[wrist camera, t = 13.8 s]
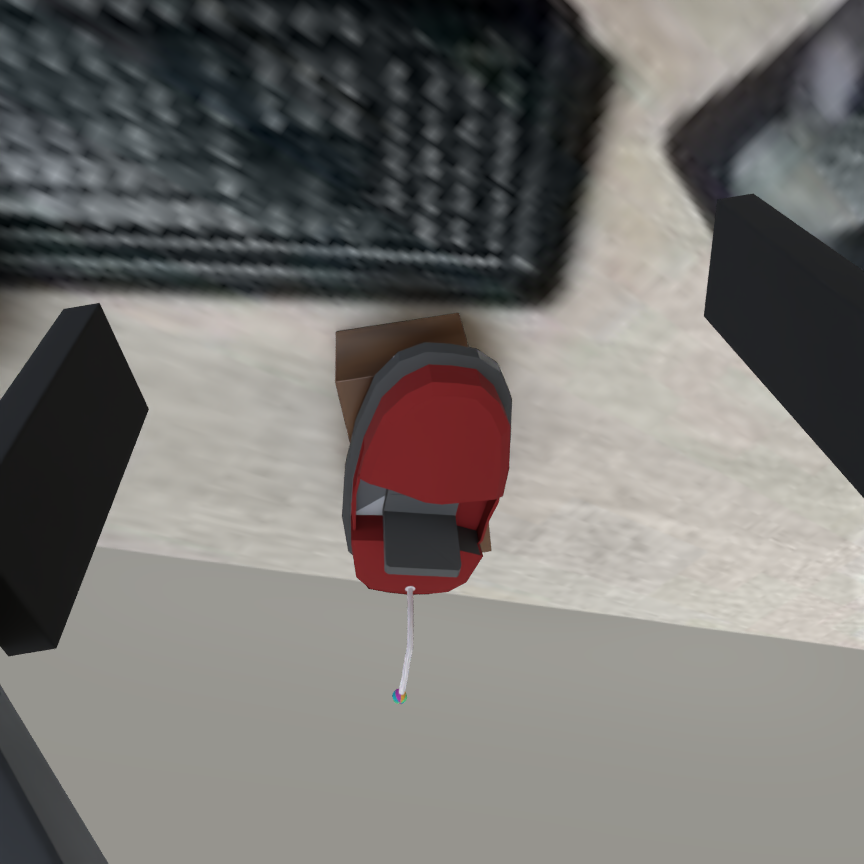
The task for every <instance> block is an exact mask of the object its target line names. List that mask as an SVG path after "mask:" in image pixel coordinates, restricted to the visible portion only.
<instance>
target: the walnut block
mask: <svg viewBox="0 0 864 864" xmlns="http://www.w3.org/2000/svg"><path fill="white" fill-rule="evenodd" d="M424 342H430V343H446V344H455V345H460V346H465V347H469V346H468V343H467V339H466V336H465V332H464V329H463V325H462V322H461V318H460V315H459V313H453V314H447V315H441V316H434V317H428V318H421V319H415V320H409V321H402V322H396V323H389V324H383V325H376V326H370V327H364V328H357V329H351V330H344V331H338V332H336V362H335V383H336V388H337V392H338V396H339V400H340V404H341V408H342V412H343V416H344V421H345V425H346V429H347V433H348V437H349V441H350V442H351V437H352V433H353V429H354V425H355V420H356V417H357V415H358V413H359V410H360V408H361V406H362V403H363V401H364V399H365V396H366V394H367V392H368V390H369V387H370V385H371V383H372V380H373V378H374V376H375V375H376V374H377V372H378V371H379V370H380V369H381V368H382V367H383V366H384V365H385V364H386V363H387V362H388V361H389V360H390V359H391V358H392V357H393V356H394V355H395V354H396V353H397V352H399V351H402V350H404V349H407V348H410V347H413V346H415V345H418V344H421V343H424ZM480 545H481V550H482V552H489V551H491V541H490V531H489V523H488V526H487V529H486V533H485V536H484V539H483V541H482V542H481V543H480Z"/></svg>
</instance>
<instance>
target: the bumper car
mask: <svg viewBox="0 0 864 864" xmlns="http://www.w3.org/2000/svg"><path fill="white" fill-rule="evenodd" d="M511 410H512V398H511V395H510V392H509V389H508V387H507V384H506V382H505V379H504V377H503V375H502V372H501V370H500V367H499V365H498V363H497V362H496V361H494V360H493V359H491V358H490V357H488V356H487V355H485V354H484V353H482V352H481V351H479V350H478V349H476V348H471V347H465V346H460V345H455V344H446V343H430V342H424V343H421V344H418V345H415V346H413V347H410V348H407V349H404V350H402V351H399V352H397V353H396V354H395V355H394V356H393V357H392V358H391V359H390V360H389V361H388V362H387V363H386V364H385V365H384V366H383V367H382V368H381V369H380V370H379V371H378V372H377V374H376V375H375V376H374V378H373V380H372V383H371V385H370V387H369V390H368V392H367V394H366V396H365V399H364V401H363V403H362V406H361V408H360V410H359V413H358V415H357V417H356V420H355V425H354V429H353V433H352V437H351V442H350V446H349V450H348V454H347V459H346V463H345V477H344V493H343V509H342V518H343V524H344V530H345V535H346V541H347V546H348V551H349V552H350V553H351V554H352V555H353V559H354V565H355V572H356V577H357V578H358V579H359V580H360V581H362V582H363V583H364V584H365V585H366V586H367V587H368V589H373V590H378V591H383V592H390V593H398V594H407V602H408V630H407V633H408V634H407V650H406V655H405V659H404V666H403V672H402V679H401V683H400V687H399V689H396V690H395V691H394V693H393V695H392V697H393V700H394V702H395V703H397V704H402V703H404V702H405V701H406V699H407V695H406V692H405V688H406V684H407V679H408V673H409V667H410V660H411V656H412V651H413V632H414V629H413V627H414V623H413V621H414V619H413V617H414V615H413V595H415V594H432V593H442V592H449V591H451V590H452V589H454V588H456V587H458V586H460V585H462V584H464V583H466V582H467V580H468V579H469V577H470V576H471V574H472V572H473V571H474V569H475V568H476V566H477V565H478V563H479V562H480V560H481V559H482V557H483V554H482V550H481V545H480V543H481V542H482V541H483V539H484V536H485V533H486V529H487V526H488V523H489V520H490V518H491V516H492V514H493V512H494V510H495V509H496V507H497V505H498V503H499V498H500V497H502V496H503V493H504V489H505V484H506V480H507V476H508V471H509V457H510V438H511Z"/></svg>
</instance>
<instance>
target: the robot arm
mask: <svg viewBox="0 0 864 864" xmlns="http://www.w3.org/2000/svg"><path fill="white" fill-rule="evenodd" d="M704 317H705V318H706V319H707V320H708V321H709V323H710V324H711V325H712V326H713V327H714V328H715V329H716V330H717V332H718V333H719V334H720V335H721V336H722V337H723V338H724V340H725V341H726V342H727V343H728V344H729V345H730V346H731V348H732V349H733V350H734V351H735V352H736V353H737V354H738V356H739V357H740V358H741V359H742V360H743V361H744V362H745V363H746V365H747V366H748V367H749V368H750V369H751V370H752V371H753V373H754V374H755V375H756V376H757V377H758V378H759V379H760V381H761V382H762V383H763V384H764V385H765V386H766V387H767V388H768V390H769V391H770V392H771V393H772V394H773V395H774V396H775V398H776V399H777V400H778V401H779V402H780V403H781V404H782V406H783V407H784V408H785V409H786V410H787V411H788V412H789V414H790V415H791V416H792V417H793V418H794V419H795V420H796V421H797V423H798V424H799V425H800V426H801V427H802V428H803V429H804V431H805V432H806V433H807V434H808V435H809V436H810V437H811V439H812V440H813V441H814V442H815V443H816V444H817V445H818V446H819V448H820V449H821V450H822V451H823V452H824V453H825V454H826V456H827V457H828V458H829V459H830V460H831V461H832V462H833V464H834V465H835V466H836V467H837V468H838V469H839V470H840V471H841V473H842V474H843V475H844V476H845V477H846V478H847V479H848V481H849V482H850V483H851V484H852V485H853V486H854V487H855V489H856V490H857V491H858V492H859V493H860V494H861V495H862V497H863V498H864V271H863V270H861V269H860V268H859V267H857V266H856V265H854V264H853V263H851V262H850V261H849V260H847V259H846V258H844V257H843V256H841V255H840V254H839V253H837V252H836V251H834V250H833V249H831V248H830V247H829V246H827V245H826V244H824V243H823V242H821V241H820V240H819V239H817V238H816V237H814V236H813V235H811V234H810V233H809V232H807V231H806V230H804V229H803V228H801V227H800V226H799V225H797V224H796V223H794V222H793V221H792V220H790V219H789V218H787V217H786V216H784V215H783V214H782V213H780V212H779V211H777V210H776V209H774V208H773V207H772V206H770V205H769V204H767V203H766V202H764V201H763V200H762V199H760V198H759V197H757V196H756V195H754V194H748V195H742V196H736V197H730V198H724V199H718V200H717V206H716V215H715V224H714V232H713V241H712V250H711V259H710V267H709V276H708V285H707V293H706V302H705V311H704ZM148 410H149V409H148V406H147V404H146V402H145V400H144V398H143V396H142V393H141V391H140V389H139V387H138V385H137V383H136V381H135V378H134V376H133V374H132V372H131V370H130V368H129V365H128V363H127V361H126V359H125V357H124V355H123V353H122V350H121V348H120V346H119V344H118V342H117V340H116V337H115V335H114V333H113V331H112V329H111V327H110V325H109V322H108V320H107V318H106V316H105V314H104V312H103V309H102V307H101V305H100V303H97V304H91V305H85V306H79V307H73V308H67V309H63V311H62V312H61V313H60V315H59V316H58V318H57V319H56V321H55V322H54V324H53V325H52V326H51V328H50V329H49V331H48V332H47V334H46V335H45V337H44V338H43V339H42V341H41V342H40V344H39V345H38V347H37V348H36V349H35V351H34V352H33V354H32V355H31V357H30V358H29V360H28V361H27V362H26V364H25V365H24V367H23V368H22V370H21V371H20V373H19V374H18V375H17V377H16V378H15V380H14V381H13V383H12V384H11V386H10V387H9V388H8V390H7V391H6V393H5V394H4V396H3V397H2V398H1V400H0V647H1V648H2V649H3V650H4V651H5V653H6V654H7V655H8V656H13V655H19V654H25V653H31V652H37V651H43V650H49V649H54V648H57V645H58V643H59V640H60V638H61V635H62V632H63V630H64V627H65V625H66V622H67V619H68V617H69V614H70V612H71V609H72V606H73V604H74V601H75V599H76V596H77V594H78V591H79V588H80V586H81V583H82V580H83V578H84V575H85V573H86V570H87V568H88V565H89V562H90V560H91V557H92V555H93V552H94V550H95V547H96V544H97V542H98V539H99V537H100V534H101V532H102V529H103V526H104V524H105V521H106V519H107V516H108V513H109V511H110V508H111V506H112V503H113V500H114V498H115V495H116V493H117V490H118V488H119V485H120V482H121V480H122V477H123V475H124V472H125V469H126V467H127V464H128V462H129V459H130V456H131V454H132V451H133V449H134V446H135V444H136V441H137V438H138V436H139V433H140V431H141V428H142V425H143V423H144V420H145V418H146V415H147V412H148ZM0 864H108V862H107V861H106V859H105V857H104V856H103V854H102V852H101V851H100V849H99V847H98V846H97V844H96V842H95V841H94V839H93V838H92V836H91V834H90V832H89V831H88V829H87V828H86V826H85V824H84V822H83V821H82V819H81V818H80V816H79V814H78V813H77V811H76V809H75V808H74V806H73V804H72V803H71V801H70V799H69V798H68V796H67V794H66V793H65V791H64V789H63V788H62V786H61V784H60V783H59V781H58V779H57V778H56V776H55V775H54V773H53V771H52V770H51V768H50V767H49V765H48V763H47V761H46V760H45V758H44V756H43V755H42V753H41V751H40V750H39V748H38V747H37V745H36V743H35V741H34V740H33V738H32V736H31V735H30V733H29V732H28V730H27V728H26V727H25V725H24V723H23V722H22V720H21V718H20V717H19V715H18V713H17V712H16V710H15V708H14V707H13V705H12V703H11V702H10V700H9V698H8V697H7V695H6V693H5V692H4V690H3V688H2V687H1V685H0Z"/></svg>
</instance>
